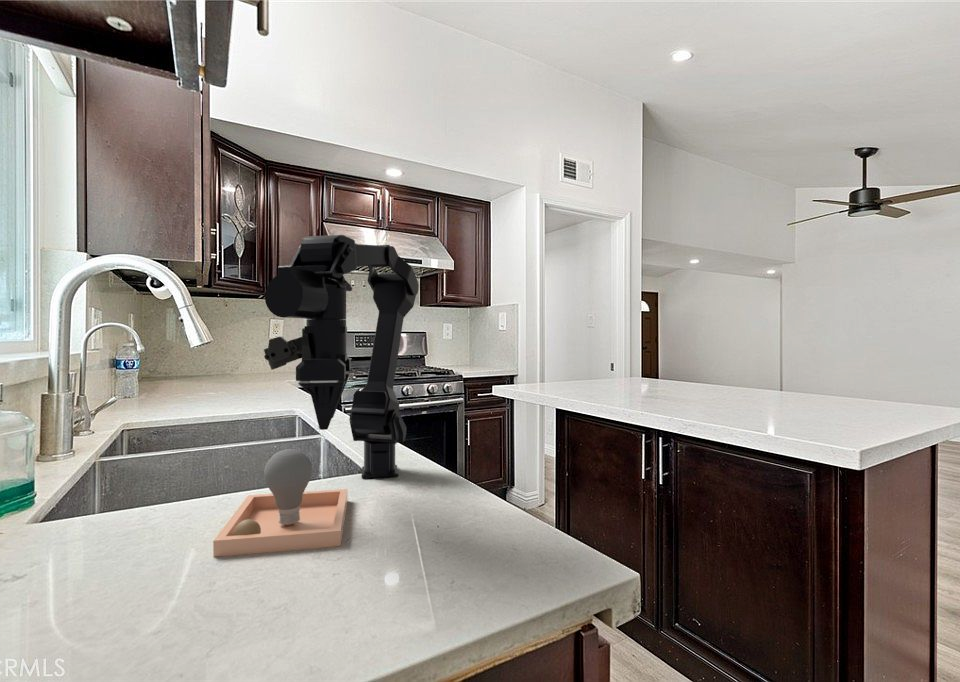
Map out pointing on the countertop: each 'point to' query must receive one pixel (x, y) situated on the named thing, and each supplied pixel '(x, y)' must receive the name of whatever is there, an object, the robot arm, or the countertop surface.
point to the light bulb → (288, 482)
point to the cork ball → (247, 528)
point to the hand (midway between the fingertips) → (326, 423)
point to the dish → (313, 530)
